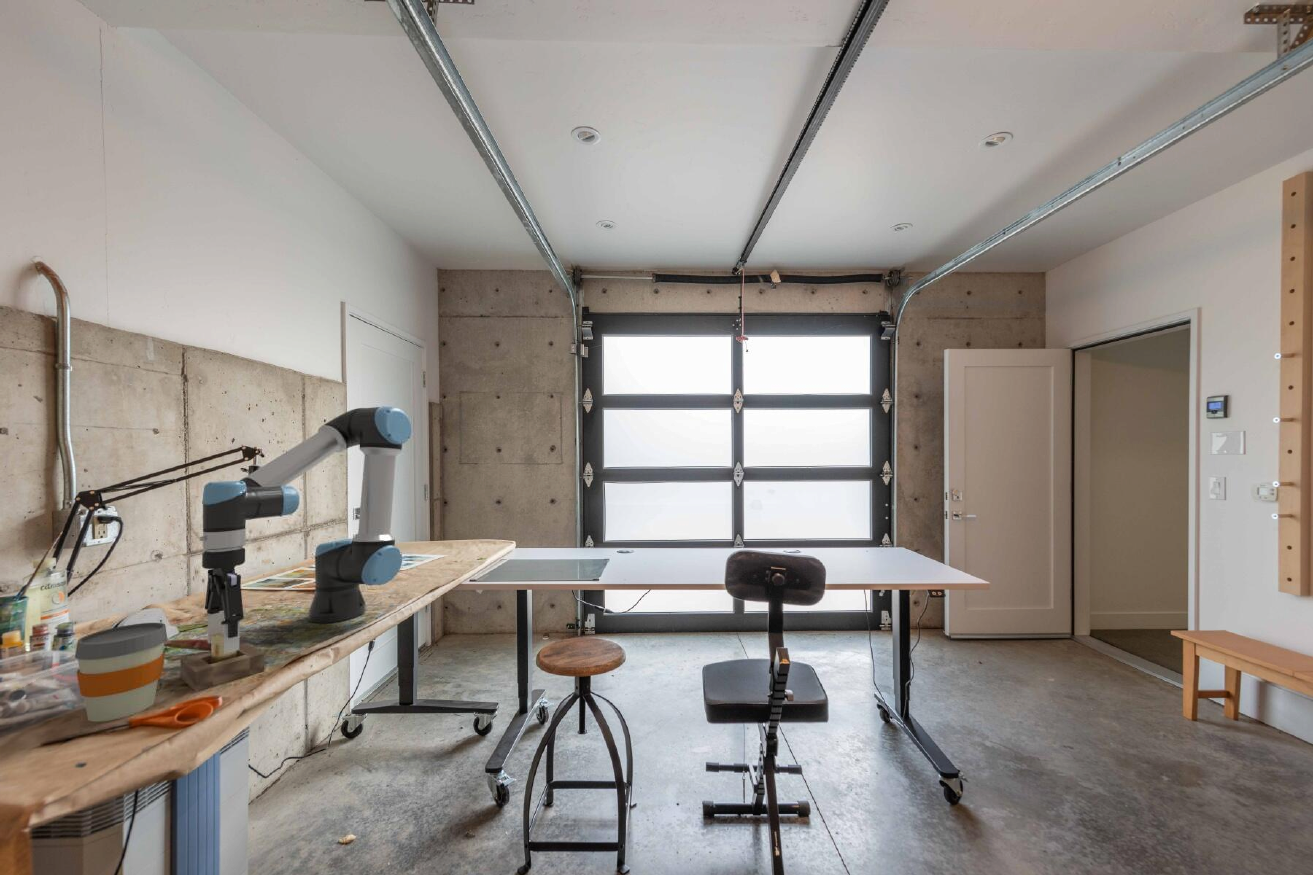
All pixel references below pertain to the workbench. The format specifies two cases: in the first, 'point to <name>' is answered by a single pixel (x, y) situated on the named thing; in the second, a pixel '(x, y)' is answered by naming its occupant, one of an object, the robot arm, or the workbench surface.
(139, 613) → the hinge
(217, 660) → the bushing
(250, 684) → the workbench surface
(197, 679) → the frame
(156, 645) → the reusable coffee cup
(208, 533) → the robot arm
